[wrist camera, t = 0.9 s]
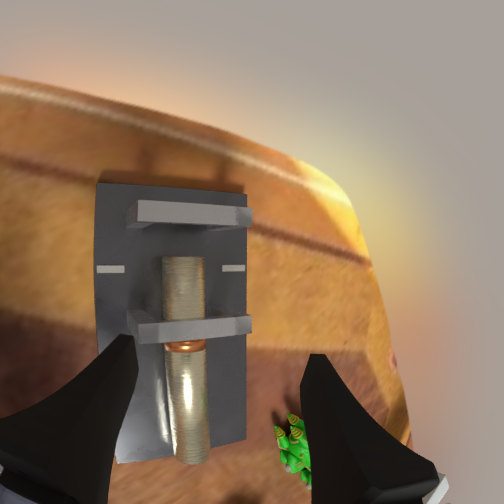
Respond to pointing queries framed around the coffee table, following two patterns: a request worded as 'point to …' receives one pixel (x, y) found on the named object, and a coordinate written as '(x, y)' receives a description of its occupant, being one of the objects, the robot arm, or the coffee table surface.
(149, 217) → the collar base
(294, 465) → the green bumpy long piece
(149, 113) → the coffee table surface
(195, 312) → the brass tube
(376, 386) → the coffee table surface
